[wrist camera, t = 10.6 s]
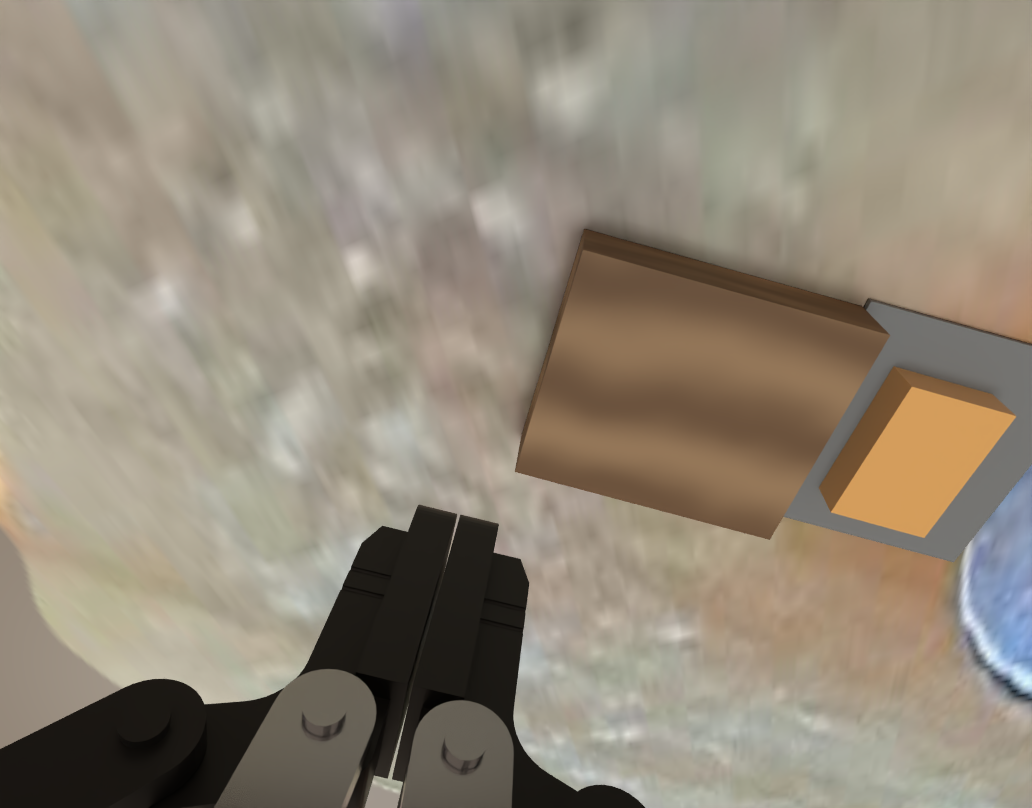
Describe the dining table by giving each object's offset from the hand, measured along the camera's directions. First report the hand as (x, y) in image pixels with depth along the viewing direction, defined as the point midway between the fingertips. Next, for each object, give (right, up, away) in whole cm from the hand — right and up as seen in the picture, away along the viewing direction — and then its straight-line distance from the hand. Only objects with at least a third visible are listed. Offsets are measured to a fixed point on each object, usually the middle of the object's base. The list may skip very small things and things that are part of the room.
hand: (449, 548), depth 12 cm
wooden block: (+11, +4, +28) cm, 30 cm away
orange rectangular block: (+24, 0, +27) cm, 36 cm away
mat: (+25, 0, +28) cm, 38 cm away
